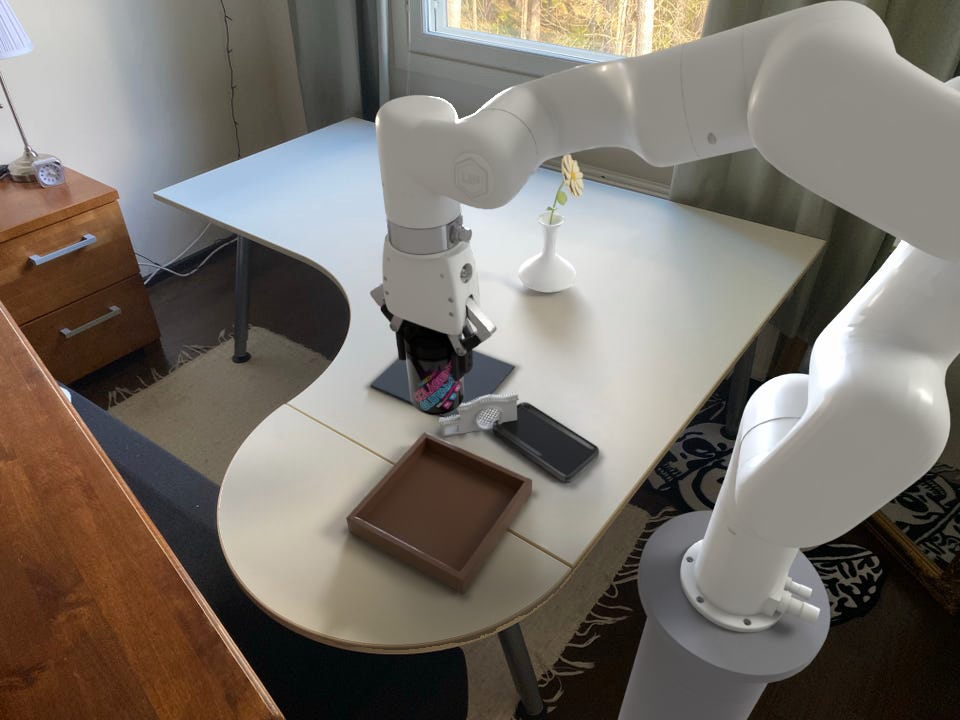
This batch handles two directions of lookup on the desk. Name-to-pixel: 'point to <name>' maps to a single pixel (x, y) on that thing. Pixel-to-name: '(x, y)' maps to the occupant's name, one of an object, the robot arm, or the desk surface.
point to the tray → (441, 510)
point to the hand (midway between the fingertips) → (434, 362)
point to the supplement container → (431, 370)
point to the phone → (547, 442)
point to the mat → (476, 382)
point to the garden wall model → (472, 411)
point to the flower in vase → (553, 241)
